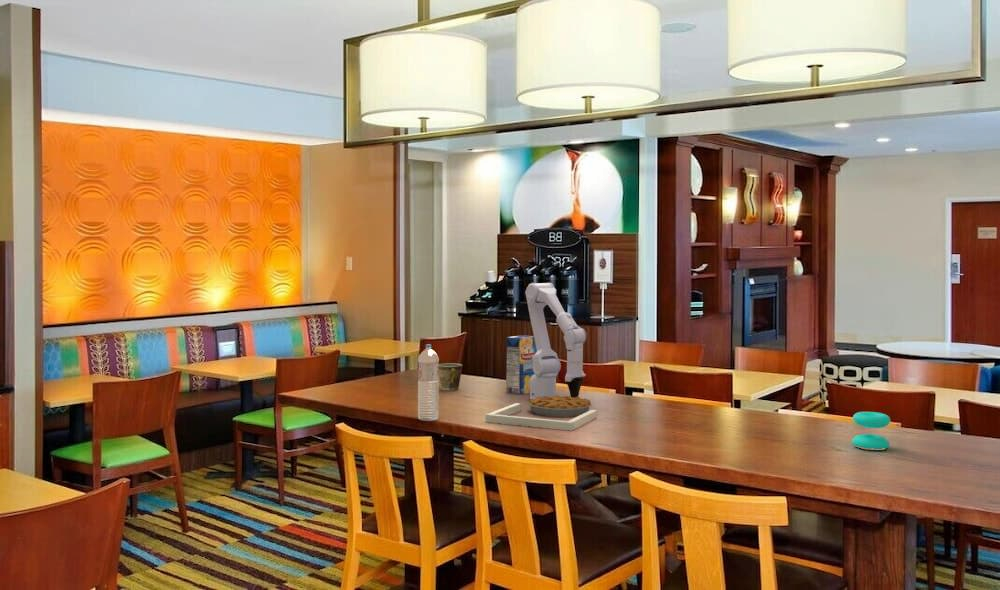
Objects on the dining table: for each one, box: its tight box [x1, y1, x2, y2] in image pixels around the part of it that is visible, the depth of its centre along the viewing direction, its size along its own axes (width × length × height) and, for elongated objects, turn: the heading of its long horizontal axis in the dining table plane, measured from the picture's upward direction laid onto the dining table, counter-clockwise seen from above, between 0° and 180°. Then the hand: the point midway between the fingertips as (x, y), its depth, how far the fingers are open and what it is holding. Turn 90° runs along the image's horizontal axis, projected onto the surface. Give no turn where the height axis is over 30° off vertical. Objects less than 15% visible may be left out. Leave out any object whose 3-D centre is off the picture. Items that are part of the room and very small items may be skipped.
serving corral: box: [485, 402, 598, 432], centre depth 299 cm, size 30×24×2 cm
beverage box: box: [505, 334, 537, 395], centre depth 355 cm, size 7×11×22 cm, turn 139°
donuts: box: [851, 411, 891, 449], centre depth 260 cm, size 10×10×10 cm
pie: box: [527, 395, 593, 418], centre depth 313 cm, size 22×22×5 cm
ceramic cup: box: [438, 362, 463, 392], centre depth 358 cm, size 13×10×10 cm
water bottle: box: [417, 343, 440, 422], centre depth 297 cm, size 7×7×25 cm
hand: (574, 398), depth 326 cm, fingers closed
